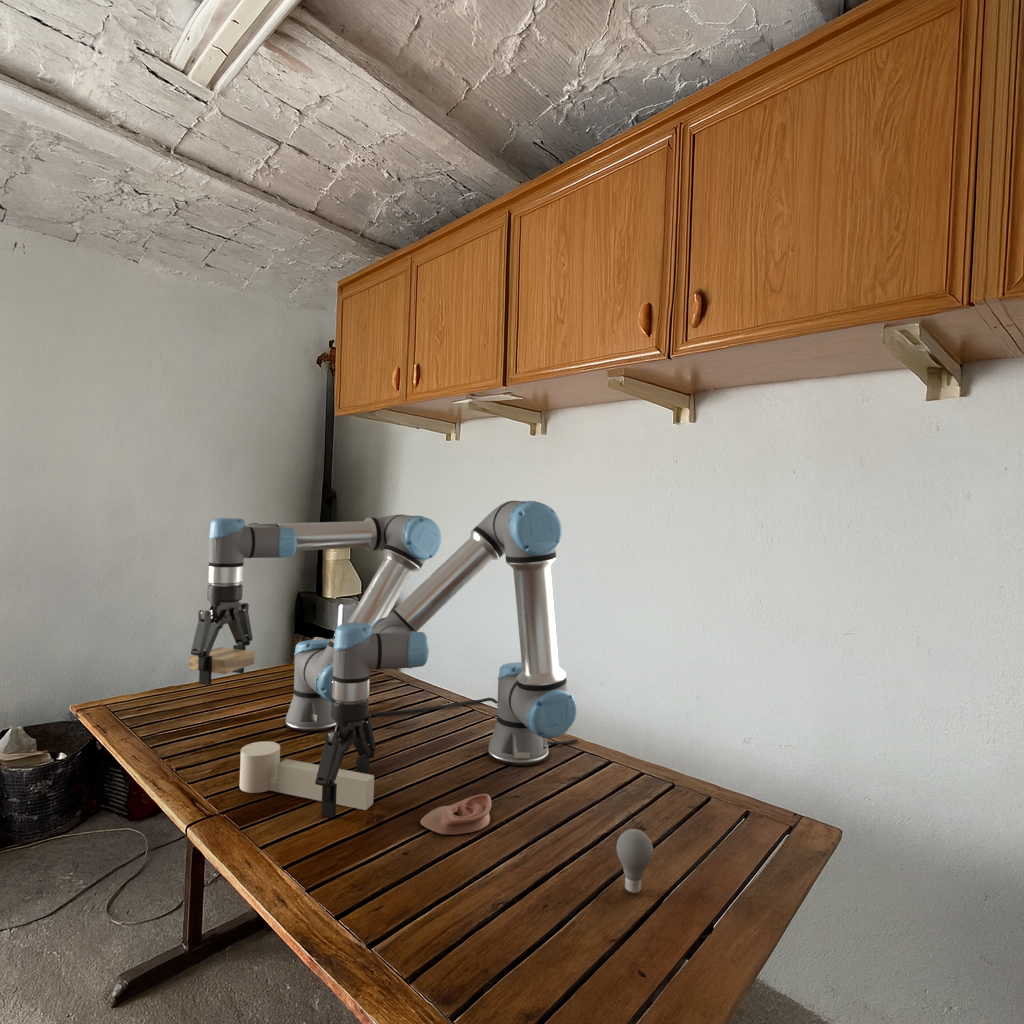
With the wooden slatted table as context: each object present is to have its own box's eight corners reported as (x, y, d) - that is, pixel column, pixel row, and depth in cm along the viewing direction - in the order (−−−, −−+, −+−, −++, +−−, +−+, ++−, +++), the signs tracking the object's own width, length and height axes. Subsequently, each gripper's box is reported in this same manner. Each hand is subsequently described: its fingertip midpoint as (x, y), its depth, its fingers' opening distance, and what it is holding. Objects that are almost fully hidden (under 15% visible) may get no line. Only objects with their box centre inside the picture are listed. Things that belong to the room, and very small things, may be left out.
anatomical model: (415, 809, 122) (434, 784, 133) (414, 830, 122) (433, 802, 133) (482, 819, 119) (496, 792, 130) (481, 840, 119) (495, 811, 130)
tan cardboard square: (188, 669, 146) (189, 656, 145) (220, 659, 155) (220, 646, 155) (224, 674, 143) (225, 661, 143) (254, 663, 152) (255, 651, 152)
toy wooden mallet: (231, 789, 135) (232, 752, 135) (256, 774, 143) (257, 739, 143) (359, 816, 126) (361, 776, 126) (379, 798, 134) (380, 761, 134)
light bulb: (610, 879, 108) (613, 822, 108) (644, 879, 109) (647, 822, 109) (619, 902, 102) (622, 840, 102) (655, 901, 103) (658, 840, 103)
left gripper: (245, 577, 160) (242, 664, 161) (174, 588, 139) (170, 689, 139) (270, 579, 158) (267, 668, 159) (202, 591, 137) (198, 693, 137)
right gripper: (364, 681, 144) (360, 774, 145) (298, 714, 121) (294, 825, 121) (394, 685, 142) (389, 780, 142) (333, 720, 119) (328, 833, 119)
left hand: (222, 678), depth 149 cm, fingers closed on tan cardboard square, 10 cm apart
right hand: (345, 801), depth 132 cm, fingers open, 12 cm apart
